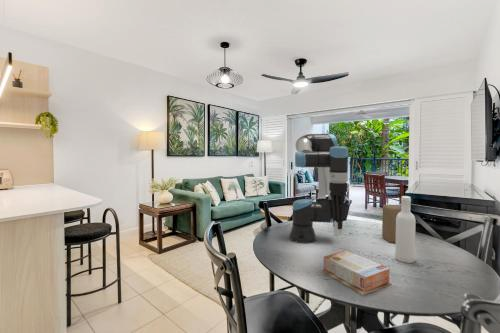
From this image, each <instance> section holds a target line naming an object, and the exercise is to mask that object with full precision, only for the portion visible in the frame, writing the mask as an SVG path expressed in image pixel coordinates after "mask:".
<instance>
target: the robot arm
mask: <svg viewBox="0 0 500 333" xmlns="http://www.w3.org/2000/svg"><path fill="white" fill-rule="evenodd" d="M295 149H296V151H295V153H294V166H295V167H297V168H317V173H318V175H317V176H318V178H317V180H318V182H317V183H318V184H317V186H318V197H317V198H316V199H315V201H314V199H311V198H302V199H297V200H294V201H293V202H292V209H291V210H292V227H291V230H290V233H289V240H291V239H292V240H293V241H292V240H291V241H292V242H295V241H297V242H296V243H299V242H311V243H314V242H316V238H317V237H316V234H315V230H314V223H328V224H330V223H333V226H332V227H333V229H334V230H333V233H334V234H333V235H334V237H341V236H342V230H343V222H346V221H348V220H347V219H348V216H349V215H348V214H349V210H350V208H351V204H352V202H353V201H352V200H351V199H349V198H348V194H347V192H348V188H349V187H348V180H349V179H348V178H349V177H348V176H349V175H348V171H349V148H348V147H347V146H343V145H342V146H341V145H339V146H338V139H337V137H336V135H335V134H334V133H307V134H305V135H302V136H300V137H299V138H298V139H297V140H296V142H295ZM313 241H314V242H313Z"/></svg>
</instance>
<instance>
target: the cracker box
mask: <svg viewBox="0 0 500 333" xmlns="http://www.w3.org/2000/svg"><path fill="white" fill-rule="evenodd" d="M323 269H324V270H325V271H329V272H331V273H332V274H334V275H336V276H338V277H340V278H341V279H343V280H345V281H347V282H349V283H350V284H352V285H354V286H356V287H358V288H359V289H361V290H363V291H365V292H367V291H369V290H372V289H374V288H376V287H379V286H381V285H384V284H386V283H389V282H390V268H389V267H387V266H385V265H382V264H380V263H378V262H375V261H373V260H370V259H368V258H366V257H363V256H360V255H358V254H356V253H354V252H351V251H348V250H346V249H345V250H342V251H340V252H336V253H332V254H329V255H325V256H323Z"/></svg>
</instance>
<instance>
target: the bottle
mask: <svg viewBox="0 0 500 333" xmlns="http://www.w3.org/2000/svg"><path fill="white" fill-rule="evenodd" d="M400 200H401V204H400V206H401V212H399V213H398V215H397V217H396V243H395V247H394V248H395V251H394V252H395V253H394V256H395V260H397V261H399V262H402V263H406V264H409V263H410V264H411V263H412V264H413V263H414V262H415V261H416V260H415V259H416V222H417V221H416V217H415V215H414V214H413V213H412V212H411V210H412V208H411V204H412V203H411V202H412V198H411V196H407V195H402V196H401V199H400Z"/></svg>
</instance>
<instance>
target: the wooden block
mask: <svg viewBox="0 0 500 333" xmlns="http://www.w3.org/2000/svg"><path fill="white" fill-rule="evenodd" d="M399 212H401V204H383V205H382V220H381V221H382V225H381V226H382V228H381V230H382V232H381V237H382V239H384V240H385V241H387V242H388V243H392V244H393V243H394V244H396V217H397V215H398V213H399Z"/></svg>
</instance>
